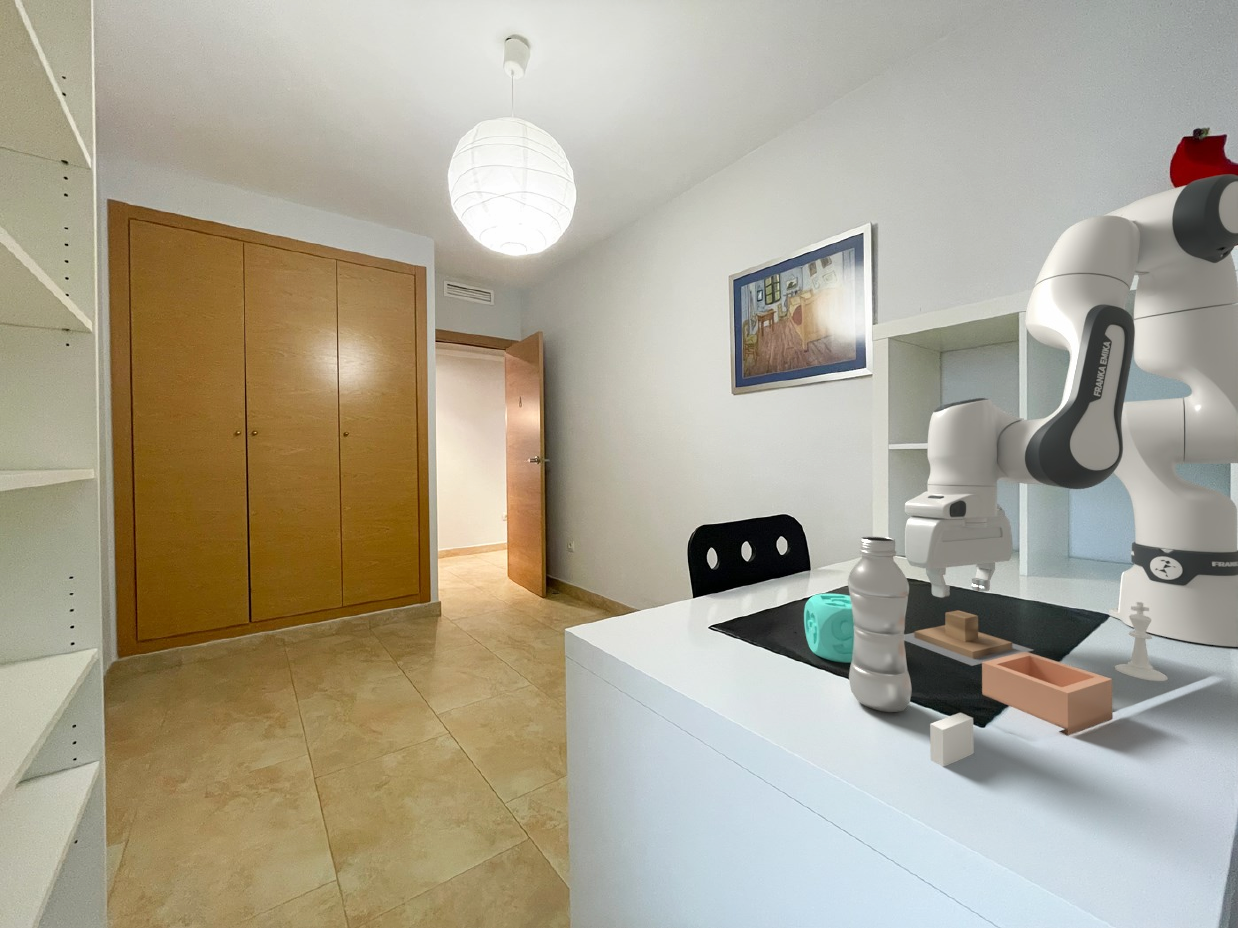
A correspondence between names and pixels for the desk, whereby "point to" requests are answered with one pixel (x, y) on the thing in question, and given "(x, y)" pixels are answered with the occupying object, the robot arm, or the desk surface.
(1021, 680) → the dish
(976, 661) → the mat
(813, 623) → the decorative dice
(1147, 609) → the chess piece
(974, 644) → the lid
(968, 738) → the eraser
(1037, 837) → the desk surface
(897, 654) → the plastic bottle
